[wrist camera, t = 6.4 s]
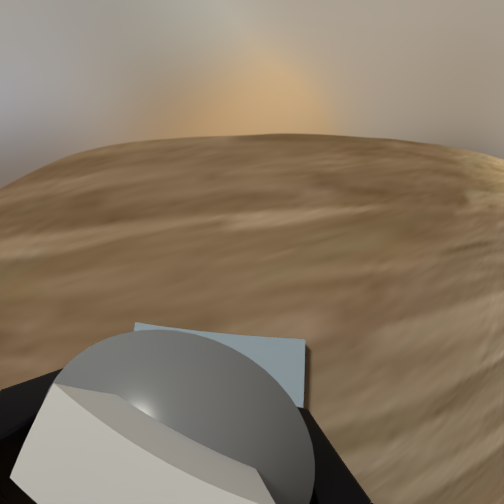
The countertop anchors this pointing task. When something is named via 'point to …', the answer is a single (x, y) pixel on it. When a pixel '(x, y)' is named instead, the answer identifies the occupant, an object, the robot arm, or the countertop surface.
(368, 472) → the countertop surface
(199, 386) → the grey tall rounded piece
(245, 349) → the coaster
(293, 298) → the countertop surface
